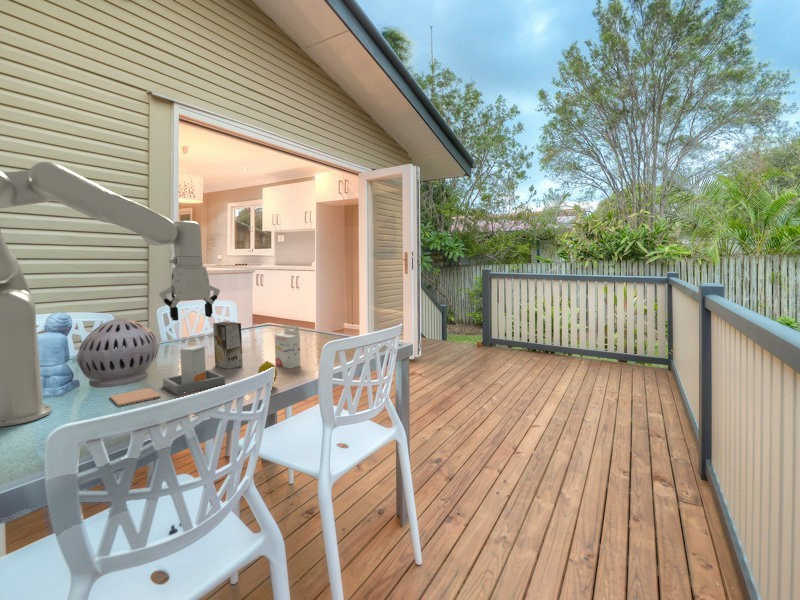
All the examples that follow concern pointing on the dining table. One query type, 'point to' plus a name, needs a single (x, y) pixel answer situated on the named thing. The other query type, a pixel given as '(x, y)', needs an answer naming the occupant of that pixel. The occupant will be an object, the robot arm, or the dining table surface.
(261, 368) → the lemon
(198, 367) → the skincare box
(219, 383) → the tray
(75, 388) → the dining table surface
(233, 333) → the coffee box
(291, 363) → the ink cartridge box
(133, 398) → the tile
